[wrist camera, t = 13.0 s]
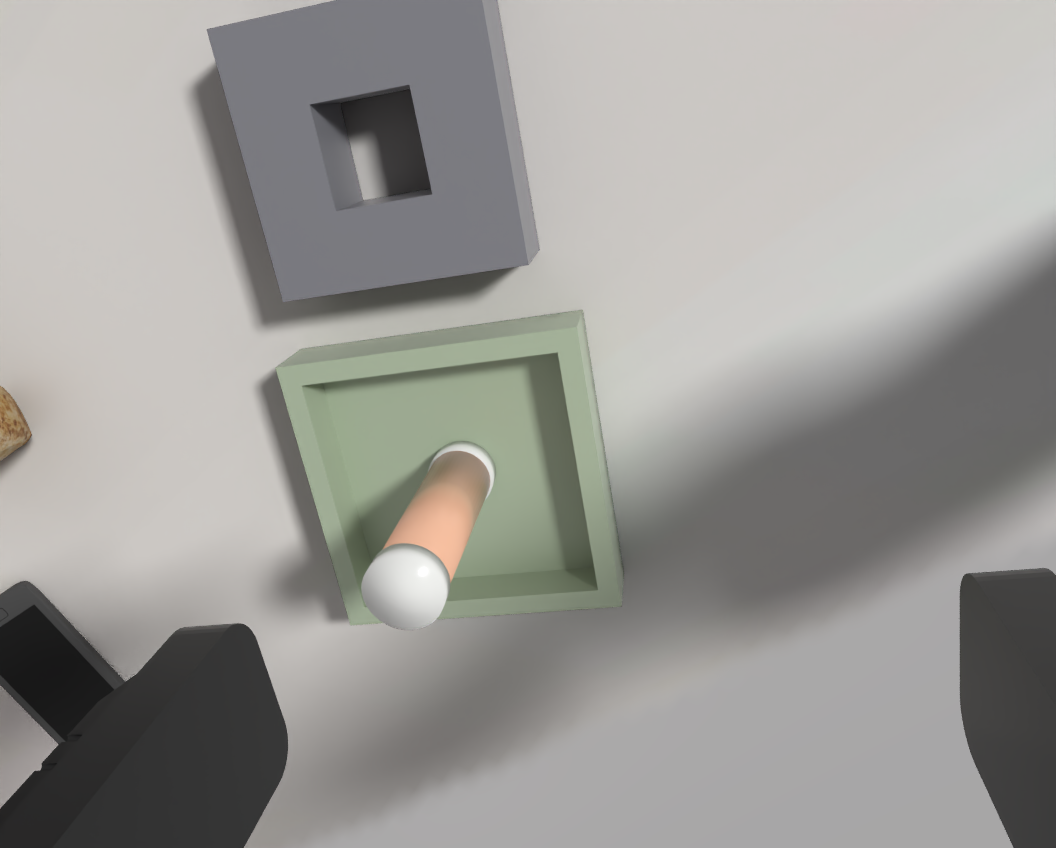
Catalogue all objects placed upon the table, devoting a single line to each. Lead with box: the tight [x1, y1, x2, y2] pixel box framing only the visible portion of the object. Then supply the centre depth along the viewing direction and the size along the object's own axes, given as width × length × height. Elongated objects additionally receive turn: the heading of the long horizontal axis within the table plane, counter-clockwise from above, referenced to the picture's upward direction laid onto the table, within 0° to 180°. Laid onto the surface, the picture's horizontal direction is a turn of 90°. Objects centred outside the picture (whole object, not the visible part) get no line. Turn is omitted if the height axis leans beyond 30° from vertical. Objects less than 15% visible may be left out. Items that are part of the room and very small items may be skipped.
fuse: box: [361, 441, 496, 630], centre depth 37 cm, size 3×3×11 cm
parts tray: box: [276, 310, 624, 625], centre depth 41 cm, size 14×14×3 cm
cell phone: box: [0, 581, 125, 744], centre depth 52 cm, size 7×14×1 cm, turn 34°
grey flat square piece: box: [207, 0, 540, 302], centre depth 36 cm, size 11×11×4 cm
